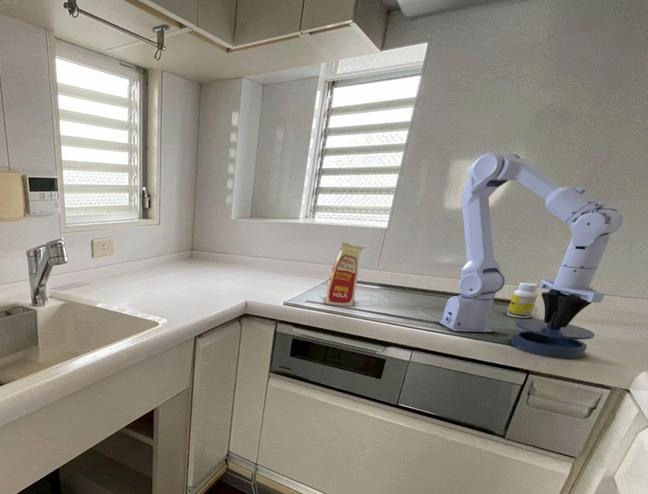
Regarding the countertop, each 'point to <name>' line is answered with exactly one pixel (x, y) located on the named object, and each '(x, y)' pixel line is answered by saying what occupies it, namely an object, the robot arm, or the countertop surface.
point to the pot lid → (554, 329)
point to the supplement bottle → (523, 301)
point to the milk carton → (344, 276)
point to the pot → (548, 345)
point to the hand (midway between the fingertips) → (554, 324)
